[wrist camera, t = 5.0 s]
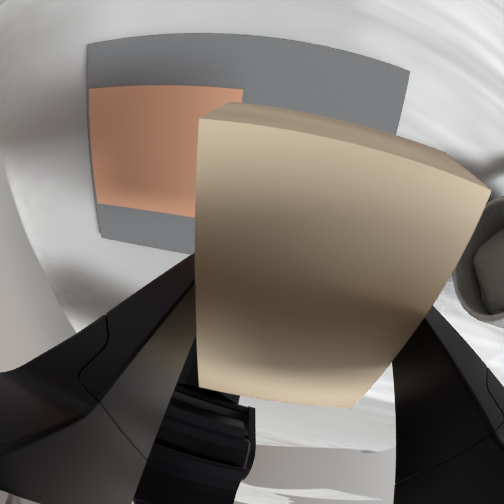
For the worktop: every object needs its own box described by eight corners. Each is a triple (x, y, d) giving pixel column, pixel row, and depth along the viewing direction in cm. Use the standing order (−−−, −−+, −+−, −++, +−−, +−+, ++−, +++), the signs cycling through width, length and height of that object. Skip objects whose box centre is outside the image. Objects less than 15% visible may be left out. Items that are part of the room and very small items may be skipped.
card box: (348, 356, 11) (351, 408, 9) (214, 335, 11) (199, 387, 9) (443, 152, 6) (491, 190, 4) (230, 101, 6) (199, 118, 4)
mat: (345, 278, 20) (346, 283, 19) (104, 234, 21) (100, 238, 20) (407, 71, 12) (410, 71, 11) (92, 44, 12) (87, 44, 12)
